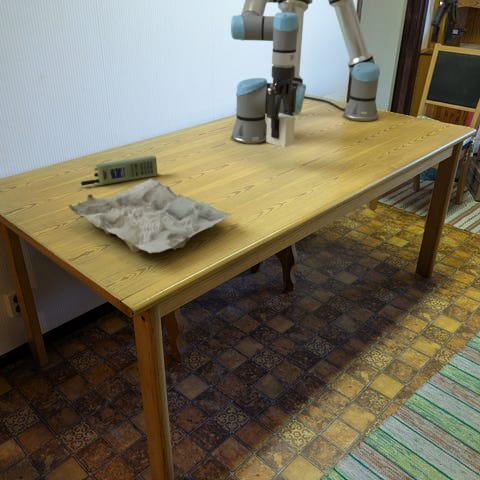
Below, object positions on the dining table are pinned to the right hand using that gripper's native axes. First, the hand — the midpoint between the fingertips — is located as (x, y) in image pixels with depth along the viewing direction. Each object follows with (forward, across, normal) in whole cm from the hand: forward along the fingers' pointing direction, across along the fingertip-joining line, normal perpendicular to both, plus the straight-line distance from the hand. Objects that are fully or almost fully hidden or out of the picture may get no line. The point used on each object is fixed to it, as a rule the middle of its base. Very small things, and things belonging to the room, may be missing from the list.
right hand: (441, 41), depth 226 cm
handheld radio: (+33, -152, +29) cm, 158 cm away
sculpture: (+33, -164, -4) cm, 167 cm away
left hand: (+22, -104, +3) cm, 106 cm away
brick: (+24, -104, +3) cm, 107 cm away
